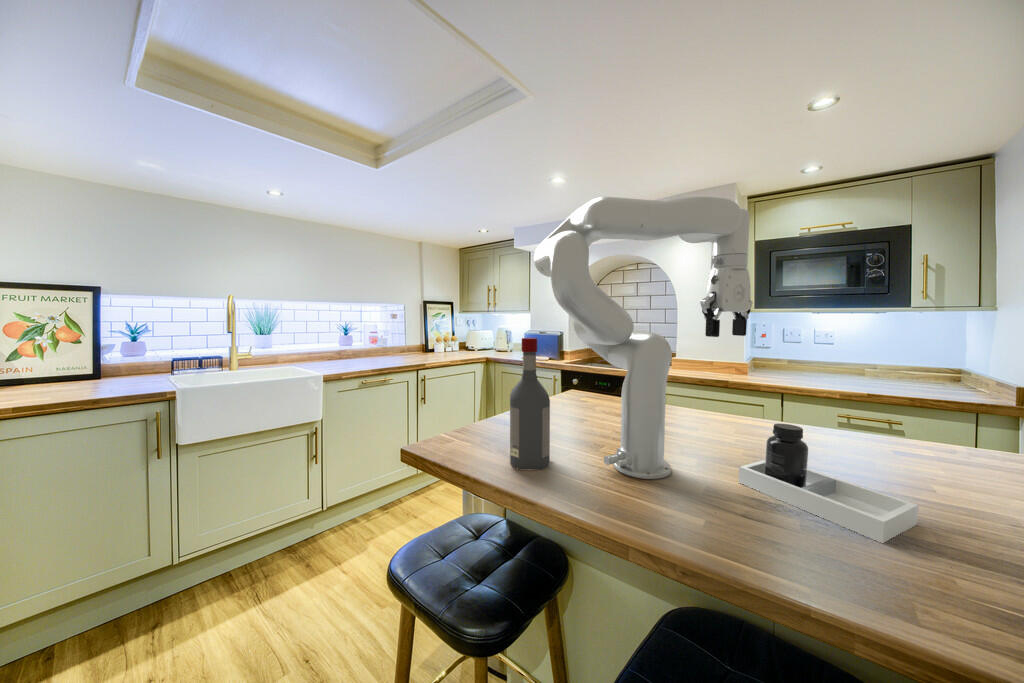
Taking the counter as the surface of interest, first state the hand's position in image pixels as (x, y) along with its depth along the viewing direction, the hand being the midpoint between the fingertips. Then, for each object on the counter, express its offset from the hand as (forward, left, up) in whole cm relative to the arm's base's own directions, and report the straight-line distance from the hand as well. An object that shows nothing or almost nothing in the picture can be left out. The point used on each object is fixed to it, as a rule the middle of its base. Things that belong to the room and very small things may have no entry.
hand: (725, 336), depth 90 cm
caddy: (-3, -22, -30) cm, 38 cm away
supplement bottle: (-3, -16, -30) cm, 34 cm away
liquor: (-44, +18, -31) cm, 56 cm away
